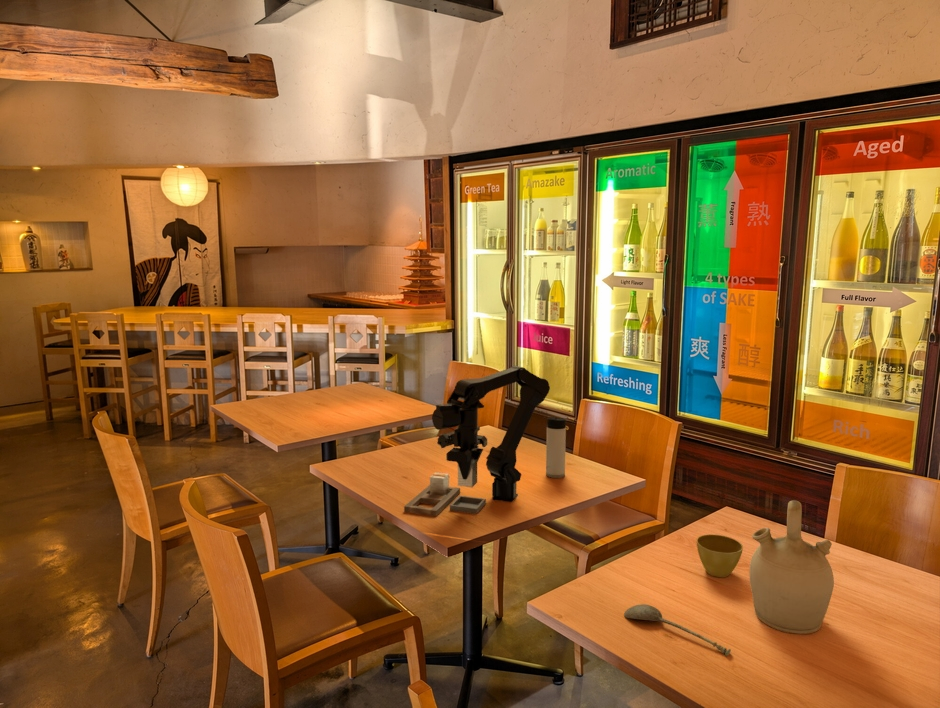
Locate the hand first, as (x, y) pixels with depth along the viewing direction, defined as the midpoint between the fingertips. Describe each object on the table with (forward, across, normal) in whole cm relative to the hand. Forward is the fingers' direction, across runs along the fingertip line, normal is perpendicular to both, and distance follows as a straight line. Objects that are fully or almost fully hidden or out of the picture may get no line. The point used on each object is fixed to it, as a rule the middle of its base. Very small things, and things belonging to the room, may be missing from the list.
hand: (467, 476), depth 189 cm
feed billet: (+2, 0, 0) cm, 2 cm away
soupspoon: (+10, +45, +60) cm, 76 cm away
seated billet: (+10, -5, -11) cm, 15 cm away
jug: (+10, +33, +81) cm, 88 cm away
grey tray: (+10, 0, 0) cm, 10 cm away
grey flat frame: (+10, 0, -11) cm, 15 cm away
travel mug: (+10, -36, +18) cm, 42 cm away
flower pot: (+10, +17, +68) cm, 71 cm away
